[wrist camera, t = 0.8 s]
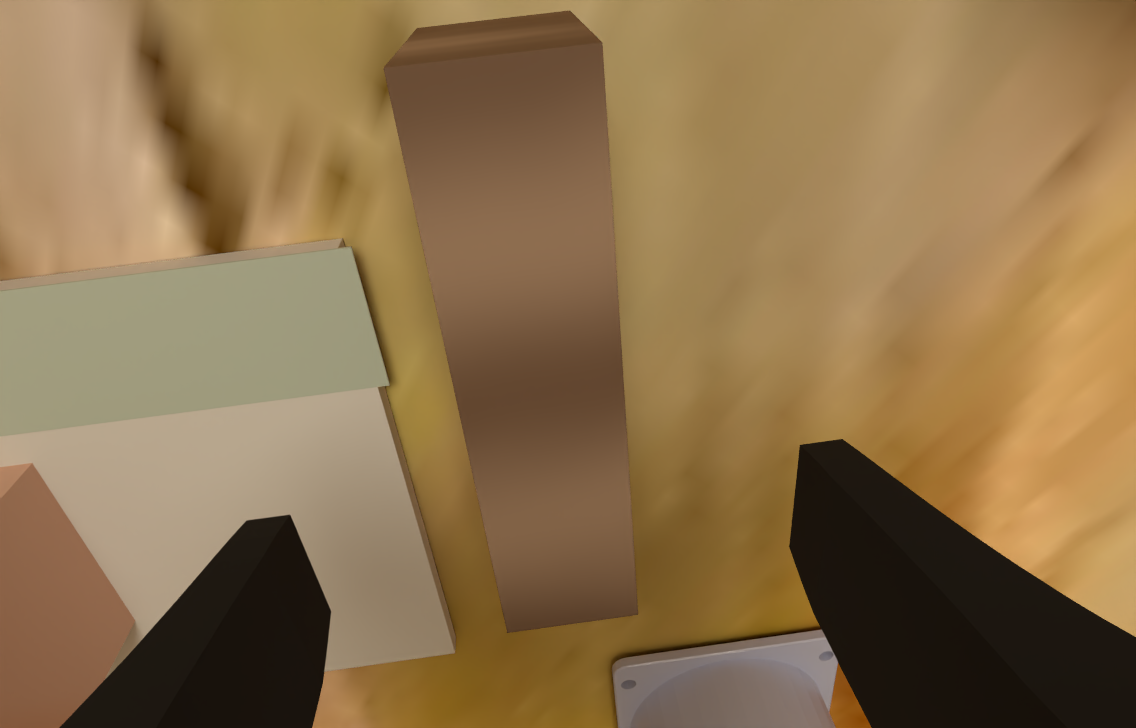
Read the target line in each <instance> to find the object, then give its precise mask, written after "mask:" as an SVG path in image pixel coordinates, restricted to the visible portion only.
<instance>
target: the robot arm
mask: <svg viewBox="0 0 1136 728" xmlns="http://www.w3.org/2000/svg"><path fill="white" fill-rule="evenodd" d="M789 547H790V550H791V553H792V556H793V559H794V561H795V564H796V567H797V570H798V573H799V576H800V578H801V581H802V584H803V587H804V589H805V592H806V595H807V597H808V600H809V602H810V605H811V608H812V610H813V613H814V615H815V617H816V619H817V621H818V623H819V625H820V627H821V630H814V631H807V632H800V633H793V634H786V635H779V636H772V637H765V638H758V639H751V640H745V641H738V642H731V643H724V644H717V645H710V646H703V647H696V648H689V649H682V650H675V651H668V652H661V653H654V654H647V655H640V656H633V657H626V658H622V659H619V660H618V661H616V662H615V663H614V664H613V666H612V675H613V684H614V694H615V704H616V714H617V723H618V728H835V725H834V723H833V721H832V718H831V716H830V714H829V711H830V705H831V699H832V694H833V688H834V682H835V677H836V671H837V665H838V663H839V665H840V667H841V669H842V671H843V673H844V675H845V676H846V678H847V680H848V682H849V684H850V686H851V688H852V690H853V692H854V694H855V696H856V698H857V700H858V702H859V704H860V706H861V708H862V710H863V712H864V713H865V715H866V717H867V719H868V721H869V723H870V725H871V727H872V728H1136V637H1134V636H1133V635H1131V634H1129V633H1127V632H1126V631H1124V630H1122V629H1120V628H1119V627H1117V626H1115V625H1113V624H1111V623H1110V622H1108V621H1106V620H1104V619H1103V618H1101V617H1099V616H1098V615H1096V614H1094V613H1093V612H1091V611H1089V610H1088V609H1086V608H1084V607H1083V606H1081V605H1079V604H1078V603H1076V602H1074V601H1073V600H1071V599H1070V598H1068V597H1066V596H1065V595H1063V594H1062V593H1060V592H1058V591H1057V590H1055V589H1054V588H1052V587H1051V586H1049V585H1048V584H1046V583H1044V582H1043V581H1041V580H1040V579H1038V578H1037V577H1035V576H1034V575H1032V574H1030V573H1029V572H1027V571H1026V570H1024V569H1023V568H1021V567H1019V566H1018V565H1016V564H1015V563H1013V562H1012V561H1010V560H1009V559H1007V558H1006V557H1004V556H1003V555H1001V554H1000V553H999V552H997V551H996V550H994V549H993V548H991V547H990V546H988V545H987V544H985V543H984V542H982V541H981V540H980V539H978V538H977V537H975V536H974V535H972V534H971V533H969V532H968V531H967V530H965V529H964V528H962V527H961V526H960V525H958V524H957V523H955V522H954V521H953V520H951V519H950V518H948V517H947V516H946V515H944V514H943V513H941V512H940V511H939V510H937V509H936V508H935V507H933V506H932V505H930V504H929V503H928V502H926V501H925V500H924V499H922V498H921V497H920V496H918V495H917V494H916V493H914V492H913V491H911V490H910V489H909V488H907V487H906V486H905V485H903V484H902V483H901V482H899V481H898V480H897V479H895V478H894V477H893V476H891V475H890V474H889V473H887V472H886V471H885V470H883V469H882V468H881V467H879V466H878V465H877V464H875V463H874V462H873V461H871V460H870V459H869V458H867V457H866V456H865V455H863V454H862V453H861V452H859V451H858V450H857V449H855V448H854V447H853V446H851V445H850V444H848V443H847V442H846V441H844V440H843V439H840V440H833V441H825V442H818V443H811V444H803V445H800V450H799V460H798V469H797V479H796V488H795V498H794V508H793V517H792V527H791V536H790V546H789ZM330 619H331V610H330V607H329V605H328V602H327V600H326V598H325V595H324V593H323V591H322V588H321V586H320V584H319V581H318V579H317V576H316V574H315V572H314V569H313V567H312V565H311V562H310V560H309V558H308V555H307V553H306V550H305V548H304V546H303V543H302V541H301V539H300V536H299V534H298V532H297V529H296V527H295V524H294V522H293V520H292V517H291V515H283V516H275V517H268V518H261V519H253V520H246V521H245V523H244V524H243V525H242V526H241V527H240V528H239V529H238V530H237V531H236V532H235V534H234V535H233V536H232V537H231V538H230V539H229V540H228V541H227V543H226V544H225V545H224V546H223V547H222V548H221V550H220V551H219V552H218V553H217V554H216V555H215V556H214V558H213V559H212V560H211V561H210V562H209V563H208V565H207V566H206V567H205V568H204V569H203V570H202V572H201V573H200V574H199V575H198V576H197V577H196V579H195V580H194V581H193V582H192V583H191V584H190V586H189V587H188V588H187V589H186V590H185V591H184V592H183V594H182V595H181V596H180V597H179V598H178V599H177V601H176V602H175V603H174V604H173V605H172V606H171V607H170V608H169V610H168V611H167V612H166V613H165V614H164V615H163V616H162V618H161V619H160V620H159V621H158V622H157V623H156V624H155V625H154V627H153V628H152V629H151V630H150V631H149V632H148V633H147V634H146V636H145V637H144V638H143V639H142V640H141V641H140V642H139V644H138V645H137V646H136V647H135V648H134V649H133V650H132V651H131V653H130V654H129V655H128V656H127V657H126V658H125V659H124V660H123V661H122V662H121V663H120V664H119V665H118V666H117V667H116V669H115V670H114V671H113V672H112V673H111V674H110V675H109V676H108V677H107V678H106V679H105V680H104V681H103V682H102V683H101V684H100V685H99V686H98V687H97V688H96V690H95V691H94V692H93V693H92V694H91V695H90V696H89V697H88V698H87V699H86V700H85V701H84V702H83V703H82V704H81V705H80V706H79V707H78V708H77V710H76V711H75V712H74V713H73V714H72V715H71V716H70V717H69V718H68V719H67V720H66V721H65V722H64V723H63V724H62V725H61V726H60V727H59V728H312V726H313V722H314V718H315V714H316V709H317V705H318V701H319V697H320V693H321V688H322V684H323V677H324V670H325V662H326V655H327V647H328V637H329V628H330Z"/></svg>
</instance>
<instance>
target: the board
mask: <svg viewBox="0 0 1136 728" xmlns="http://www.w3.org/2000/svg"><path fill="white" fill-rule="evenodd" d="M389 385H390V383H389V379H388V375H387V372H386V368H385V365H384V361H383V357H382V354H381V350H380V347H379V343H378V340H377V336H376V332H375V329H374V325H373V322H372V318H371V314H370V311H369V307H368V304H367V300H366V297H365V293H364V289H363V286H362V282H361V279H360V275H359V271H358V268H357V264H356V261H355V257H354V254H353V250H352V246H350V247H345V246H344V242H343V238H342V239H334V240H326V241H318V242H310V243H302V244H294V245H286V246H278V247H270V248H262V249H254V250H246V251H238V252H230V253H222V254H214V255H206V256H198V257H190V258H182V259H174V260H166V261H158V262H150V263H142V264H134V265H126V266H118V267H110V268H102V269H94V270H86V271H78V272H70V273H62V274H54V275H46V276H38V277H30V278H22V279H14V280H6V281H0V467H5V466H13V465H20V464H28V463H33V465H34V466H35V468H36V470H37V471H38V473H39V474H40V476H41V477H42V479H43V480H44V482H45V483H46V485H47V486H48V488H49V489H50V491H51V492H52V494H53V496H54V497H55V499H56V500H57V502H58V503H59V505H60V506H61V508H62V509H63V511H64V512H65V514H66V515H67V517H68V518H69V520H70V522H71V523H72V525H73V526H74V528H75V529H76V531H77V532H78V534H79V535H80V537H81V538H82V540H83V541H84V543H85V544H86V546H87V548H88V549H89V551H90V552H91V554H92V555H93V557H94V558H95V560H96V561H97V563H98V564H99V566H100V567H101V569H102V570H103V572H104V574H105V575H106V577H107V578H108V580H109V581H110V583H111V584H112V586H113V587H114V589H115V590H116V592H117V593H118V595H119V596H120V598H121V600H122V601H123V603H124V604H125V606H126V607H127V609H128V610H129V612H130V613H131V615H132V616H133V618H134V619H135V622H134V624H133V626H132V628H131V630H130V632H129V634H128V636H127V638H126V640H125V642H124V643H123V645H122V647H121V649H120V651H119V653H118V655H117V657H116V659H115V661H114V663H113V664H112V666H111V668H110V670H109V672H108V674H107V676H106V678H107V677H108V676H109V675H110V674H111V673H112V672H113V671H114V670H115V669H116V667H117V666H118V665H119V664H120V663H121V662H122V661H123V660H124V659H125V658H126V657H127V656H128V655H129V654H130V653H131V651H132V650H133V649H134V648H135V647H136V646H137V645H138V644H139V642H140V641H141V640H142V639H143V638H144V637H145V636H146V634H147V633H148V632H149V631H150V630H151V629H152V628H153V627H154V625H155V624H156V623H157V622H158V621H159V620H160V619H161V618H162V616H163V615H164V614H165V613H166V612H167V611H168V610H169V608H170V607H171V606H172V605H173V604H174V603H175V602H176V601H177V599H178V598H179V597H180V596H181V595H182V594H183V592H184V591H185V590H186V589H187V588H188V587H189V586H190V584H191V583H192V582H193V581H194V580H195V579H196V577H197V576H198V575H199V574H200V573H201V572H202V570H203V569H204V568H205V567H206V566H207V565H208V563H209V562H210V561H211V560H212V559H213V558H214V556H215V555H216V554H217V553H218V552H219V551H220V550H221V548H222V547H223V546H224V545H225V544H226V543H227V541H228V540H229V539H230V538H231V537H232V536H233V535H234V534H235V532H236V531H237V530H238V529H239V528H240V527H241V526H242V525H243V524H244V523H245V521H246V520H253V519H261V518H268V517H275V516H283V515H291V517H292V520H293V522H294V524H295V527H296V529H297V532H298V534H299V536H300V539H301V541H302V543H303V546H304V548H305V550H306V553H307V555H308V558H309V560H310V562H311V565H312V567H313V569H314V572H315V574H316V576H317V579H318V581H319V584H320V586H321V588H322V591H323V593H324V595H325V598H326V600H327V602H328V605H329V607H330V610H331V619H330V628H329V637H328V647H327V655H326V662H325V670H324V672H326V671H333V670H340V669H347V668H354V667H361V666H368V665H375V664H382V663H389V662H396V661H403V660H410V659H418V658H425V657H432V656H439V655H446V654H453V653H455V646H456V636H455V632H454V629H453V625H452V622H451V618H450V615H449V611H448V607H447V604H446V600H445V597H444V593H443V590H442V586H441V583H440V579H439V576H438V572H437V569H436V565H435V562H434V558H433V555H432V551H431V548H430V544H429V541H428V537H427V534H426V530H425V527H424V523H423V520H422V516H421V513H420V509H419V506H418V502H417V499H416V495H415V492H414V488H413V484H412V481H411V477H410V474H409V470H408V467H407V463H406V460H405V456H404V453H403V449H402V446H401V442H400V439H399V435H398V432H397V428H396V425H395V421H394V418H393V414H392V411H391V407H390V404H389V400H388V397H387V393H386V390H385V386H389ZM106 678H105V679H106Z"/></svg>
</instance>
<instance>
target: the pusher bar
mask: <svg viewBox="0 0 1136 728" xmlns="http://www.w3.org/2000/svg"><path fill="white" fill-rule="evenodd" d="M384 72H385V76H386V81H387V86H388V90H389V95H390V99H391V104H392V108H393V113H394V118H395V122H396V127H397V131H398V136H399V140H400V145H401V149H402V154H403V159H404V163H405V168H406V172H407V177H408V181H409V186H410V191H411V195H412V200H413V204H414V209H415V213H416V218H417V222H418V227H419V232H420V236H421V241H422V245H423V250H424V254H425V259H426V264H427V268H428V273H429V277H430V282H431V286H432V291H433V295H434V300H435V305H436V309H437V314H438V318H439V323H440V327H441V332H442V337H443V341H444V346H445V350H446V355H447V359H448V364H449V368H450V373H451V378H452V382H453V387H454V391H455V396H456V400H457V405H458V410H459V414H460V419H461V423H462V428H463V432H464V437H465V442H466V446H467V451H468V455H469V460H470V464H471V469H472V473H473V478H474V483H475V487H476V492H477V496H478V501H479V505H480V510H481V515H482V519H483V524H484V528H485V533H486V537H487V542H488V546H489V551H490V556H491V560H492V565H493V569H494V574H495V578H496V583H497V588H498V592H499V597H500V601H501V606H502V610H503V615H504V619H505V624H506V629H507V633H510V632H517V631H524V630H531V629H539V628H546V627H553V626H560V625H567V624H575V623H582V622H589V621H596V620H603V619H611V618H618V617H625V616H632V615H638V605H637V589H636V573H635V557H634V541H633V525H632V509H631V493H630V477H629V461H628V445H627V429H626V414H625V398H624V382H623V366H622V350H621V334H620V318H619V302H618V286H617V270H616V254H615V238H614V222H613V206H612V190H611V174H610V158H609V142H608V126H607V110H606V94H605V78H604V62H603V46H602V42H601V41H600V40H599V39H598V38H597V37H596V36H595V35H594V34H593V33H592V32H591V31H590V30H589V29H588V28H587V27H586V26H585V25H584V24H583V23H582V22H581V21H580V20H579V19H578V18H577V17H576V16H575V15H574V14H573V13H572V12H571V11H562V12H554V13H545V14H536V15H528V16H519V17H510V18H502V19H493V20H484V21H476V22H467V23H458V24H449V25H441V26H432V27H423V28H417V29H416V30H415V31H414V32H413V34H412V35H411V36H410V37H409V38H408V40H407V41H406V42H405V43H404V44H403V46H402V47H401V48H400V49H399V50H398V51H397V53H396V54H395V55H394V56H393V57H392V59H391V60H390V61H389V62H388V63H387V65H386V66H385V67H384Z"/></svg>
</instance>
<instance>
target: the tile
mask: <svg viewBox="0 0 1136 728" xmlns="http://www.w3.org/2000/svg"><path fill="white" fill-rule="evenodd" d="M134 622H135V619H134V618H133V616H132V615H131V613H130V612H129V610H128V609H127V607H126V606H125V604H124V603H123V601H122V600H121V598H120V596H119V595H118V593H117V592H116V590H115V589H114V587H113V586H112V584H111V583H110V581H109V580H108V578H107V577H106V575H105V574H104V572H103V570H102V569H101V567H100V566H99V564H98V563H97V561H96V560H95V558H94V557H93V555H92V554H91V552H90V551H89V549H88V548H87V546H86V544H85V543H84V541H83V540H82V538H81V537H80V535H79V534H78V532H77V531H76V529H75V528H74V526H73V525H72V523H71V522H70V520H69V518H68V517H67V515H66V514H65V512H64V511H63V509H62V508H61V506H60V505H59V503H58V502H57V500H56V499H55V497H54V496H53V494H52V492H51V491H50V489H49V488H48V486H47V485H46V483H45V482H44V480H43V479H42V477H41V476H40V474H39V473H38V471H37V470H36V468H35V466H34V465H33V463H28V464H20V465H13V466H5V467H0V728H59V727H60V726H61V725H62V724H63V723H64V722H65V721H66V720H67V719H68V718H69V717H70V716H71V715H72V714H73V713H74V712H75V711H76V710H77V708H78V707H79V706H80V705H81V704H82V703H83V702H84V701H85V700H86V699H87V698H88V697H89V696H90V695H91V694H92V693H93V692H94V691H95V690H96V688H97V687H98V686H99V685H100V684H101V683H102V682H103V681H104V680H105V678H106V676H107V674H108V672H109V670H110V668H111V666H112V664H113V663H114V661H115V659H116V657H117V655H118V653H119V651H120V649H121V647H122V645H123V643H124V642H125V640H126V638H127V636H128V634H129V632H130V630H131V628H132V626H133V624H134Z"/></svg>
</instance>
